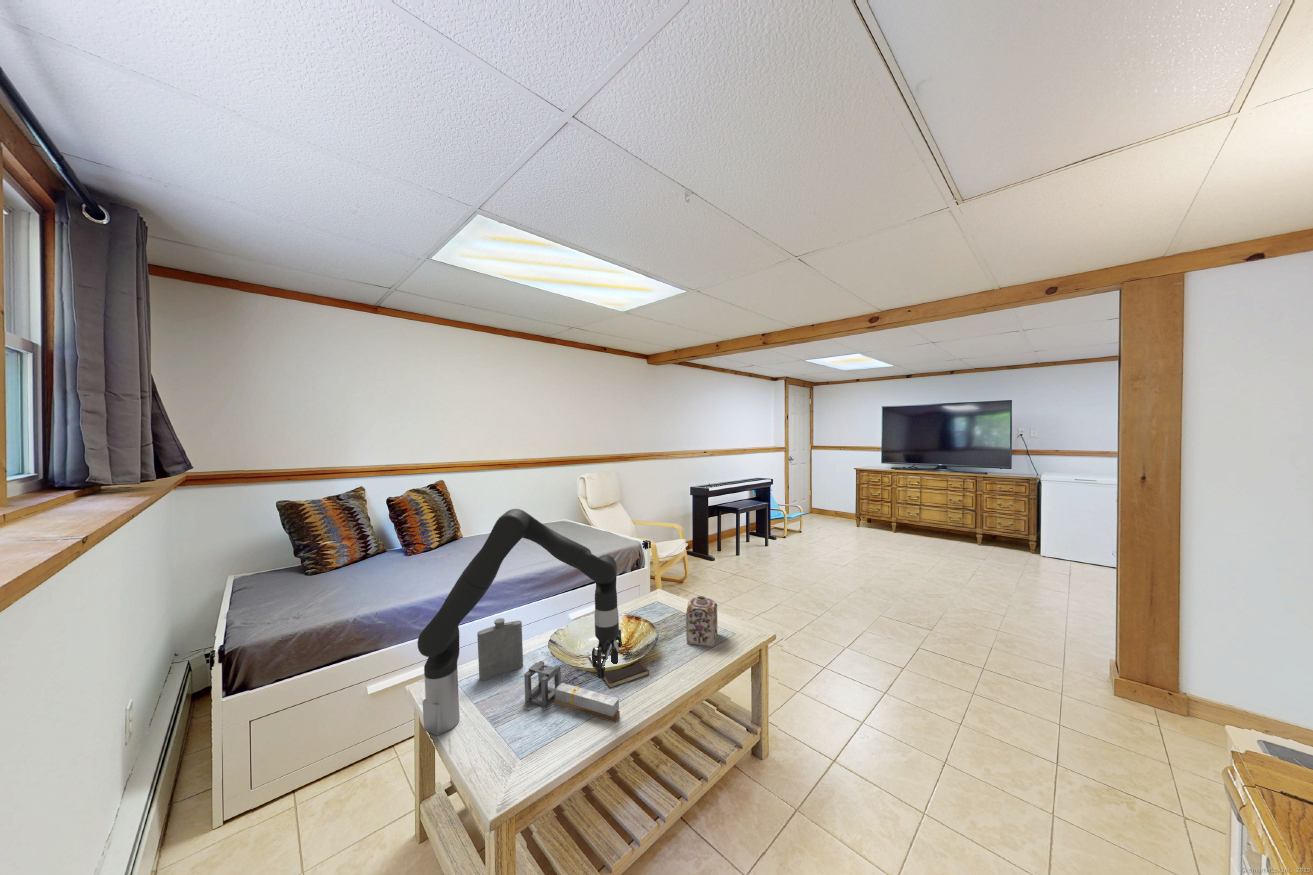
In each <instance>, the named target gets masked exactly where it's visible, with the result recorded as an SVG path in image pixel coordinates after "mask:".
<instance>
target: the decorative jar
mask: <svg viewBox="0 0 1313 875" xmlns="http://www.w3.org/2000/svg"><path fill="white" fill-rule="evenodd" d="M686 606H687V607H686V612H685V622H686V624H685V625H686V626H685V628H686V629H685V633H686V634H685V636H686V637H685V638H686V644H688V645H696V646H703V647H710V648H713V647H714V646H715V642H716V639H717V636H718V604H717V602H715V601H714V600H713V599H711V598H710V597H706V596H705V595H698V596H696V597H694V598H690V599H689V601H688V603H687V605H686Z"/></svg>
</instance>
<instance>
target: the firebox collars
mask: <svg viewBox="0 0 1313 875" xmlns="http://www.w3.org/2000/svg"><path fill="white" fill-rule="evenodd" d="M561 670H562V669H561V665H558V664H555V666H550V665H548V664H545V661H544V660H540V661H539V662H535V663H534V664H532V666H530V667H529V668H528V670H527V671H526V672H525V673H524V678H523V679H524V681H523V682H524V701H525V703H528V704H532V705H535V706H538V707H541V708H544V709H547V708H548V707H549V706H550V705H551V704H552V703H554V697H555V689H556V688H557V687H558V686H559V685H560V684H561V683H562V679H561V678H562V676H561V675H562V674H561ZM535 674H538V679H537V680H538V683H537V684H536V686H534V688H532V677H533V676H534V675H535ZM553 677H554V688H553V687H549V681H550V680H551V679H552V678H553ZM540 693H541V700H538V699H535V698H536V697H537V696H539V694H540Z"/></svg>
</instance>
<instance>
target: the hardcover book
mask: <svg viewBox="0 0 1313 875" xmlns="http://www.w3.org/2000/svg"><path fill="white" fill-rule="evenodd" d="M649 674H650V670H649V669H648V668H647V667H646V666H645V665H644V663H643V662H642V661H641V662H639V663H637V664H635V665H633V666H630V667H627V668H624V669H620V670H615V671H609V672H605V678H604V679H603V680H604V681H605V682H606V684H607V685H608V687H609V688H614V687H615V686H618V685H621V684H624V683H626V682H629V681H632V680H635V679H638V678H641V677H644V676H646V675H649Z"/></svg>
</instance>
